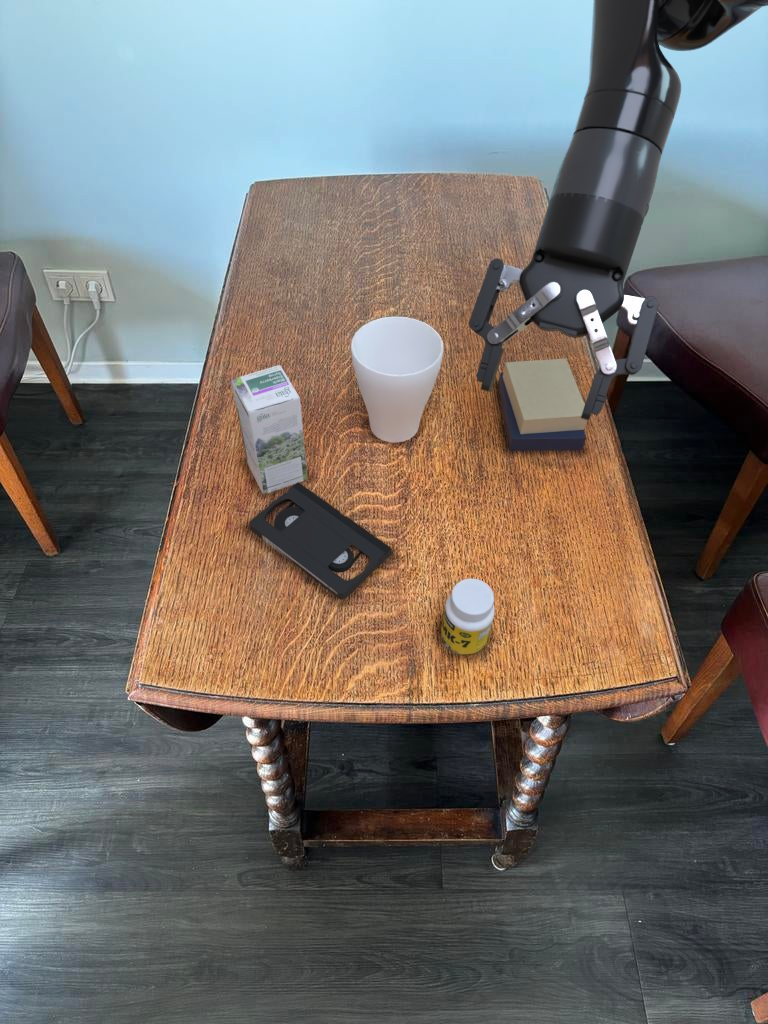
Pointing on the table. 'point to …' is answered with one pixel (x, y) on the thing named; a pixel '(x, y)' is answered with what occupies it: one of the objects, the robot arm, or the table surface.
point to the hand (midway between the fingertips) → (534, 404)
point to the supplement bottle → (468, 617)
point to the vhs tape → (319, 540)
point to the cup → (396, 373)
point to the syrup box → (271, 428)
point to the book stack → (541, 406)
